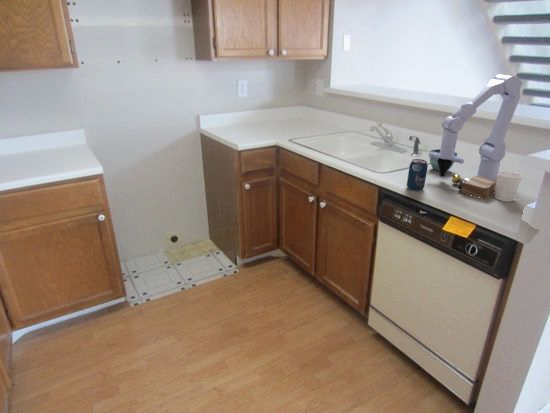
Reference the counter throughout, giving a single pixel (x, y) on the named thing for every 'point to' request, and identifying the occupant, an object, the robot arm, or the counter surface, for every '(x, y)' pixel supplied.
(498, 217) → the counter surface
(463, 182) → the plunger
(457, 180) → the plunger
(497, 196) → the white cup
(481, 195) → the catch block
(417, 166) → the soda can
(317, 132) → the counter surface
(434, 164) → the flower pot
